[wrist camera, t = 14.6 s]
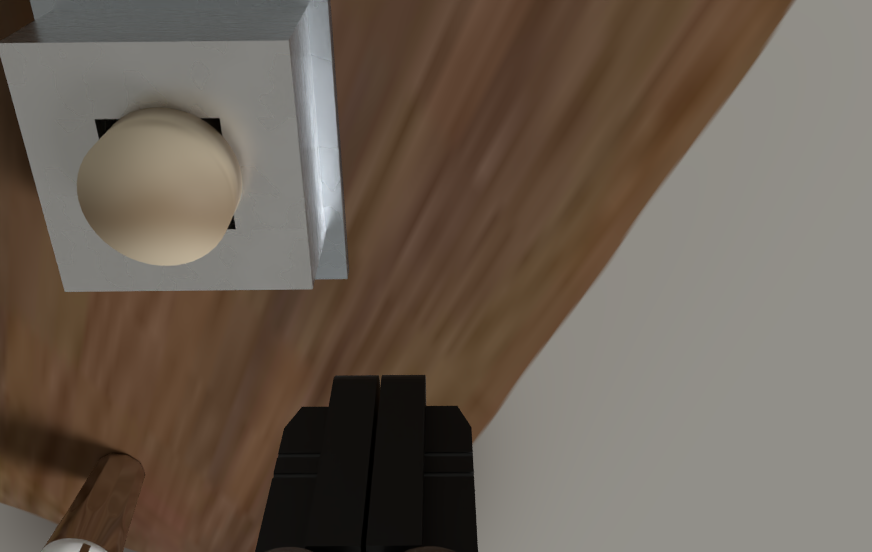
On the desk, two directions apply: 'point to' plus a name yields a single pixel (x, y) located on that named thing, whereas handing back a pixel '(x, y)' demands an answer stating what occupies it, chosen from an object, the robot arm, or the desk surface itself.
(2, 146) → the desk surface
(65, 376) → the desk surface
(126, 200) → the beech pin
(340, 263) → the block
